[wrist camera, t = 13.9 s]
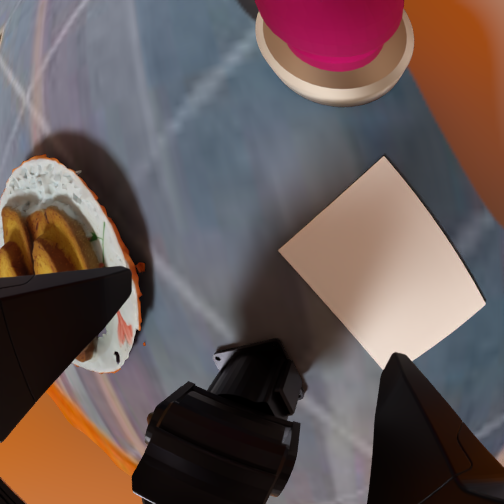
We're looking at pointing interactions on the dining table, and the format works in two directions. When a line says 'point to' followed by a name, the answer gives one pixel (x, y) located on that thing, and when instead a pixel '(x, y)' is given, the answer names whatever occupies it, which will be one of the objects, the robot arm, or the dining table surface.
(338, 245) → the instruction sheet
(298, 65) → the round bowl
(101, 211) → the food on plate
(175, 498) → the robot arm
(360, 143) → the dining table surface
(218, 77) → the dining table surface
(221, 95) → the dining table surface
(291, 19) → the pepper mill
